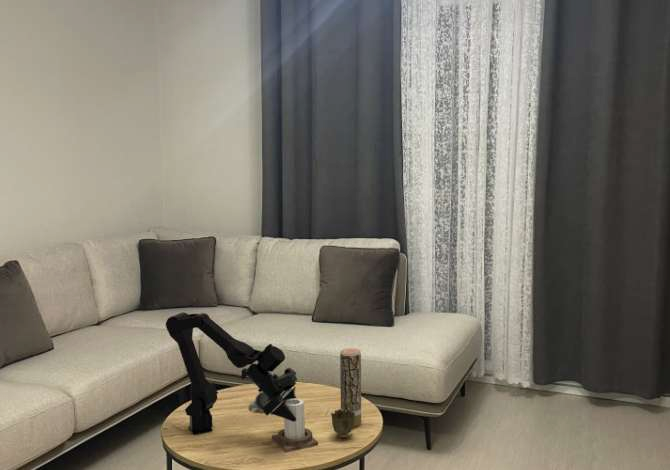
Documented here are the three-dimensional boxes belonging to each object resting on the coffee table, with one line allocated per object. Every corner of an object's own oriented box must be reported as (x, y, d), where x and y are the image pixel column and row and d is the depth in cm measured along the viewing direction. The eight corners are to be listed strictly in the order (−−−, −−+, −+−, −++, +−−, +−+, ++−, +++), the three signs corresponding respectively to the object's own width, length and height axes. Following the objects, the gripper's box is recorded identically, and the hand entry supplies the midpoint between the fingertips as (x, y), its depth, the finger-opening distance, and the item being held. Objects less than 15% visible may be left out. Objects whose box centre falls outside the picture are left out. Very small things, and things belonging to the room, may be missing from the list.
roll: (291, 444, 208) (290, 407, 207) (281, 437, 213) (280, 401, 212) (307, 439, 211) (307, 402, 210) (298, 433, 216) (297, 397, 215)
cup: (341, 430, 221) (341, 406, 220) (359, 436, 216) (359, 412, 215) (326, 438, 215) (326, 414, 214) (344, 444, 210) (344, 419, 209)
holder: (285, 452, 205) (284, 443, 205) (272, 438, 215) (272, 430, 215) (318, 444, 210) (317, 436, 210) (303, 432, 220) (303, 423, 219)
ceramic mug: (280, 404, 244) (280, 384, 243) (276, 413, 236) (275, 392, 235) (252, 404, 245) (251, 383, 244) (246, 413, 237) (245, 391, 236)
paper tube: (359, 429, 222) (358, 355, 218) (339, 427, 223) (338, 354, 220) (362, 420, 228) (362, 348, 225) (343, 419, 230) (342, 348, 226)
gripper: (272, 372, 201) (308, 411, 200) (289, 354, 219) (322, 389, 218) (247, 396, 204) (283, 434, 203) (266, 376, 222) (299, 411, 221)
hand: (298, 416), depth 211 cm, fingers open, 7 cm apart
